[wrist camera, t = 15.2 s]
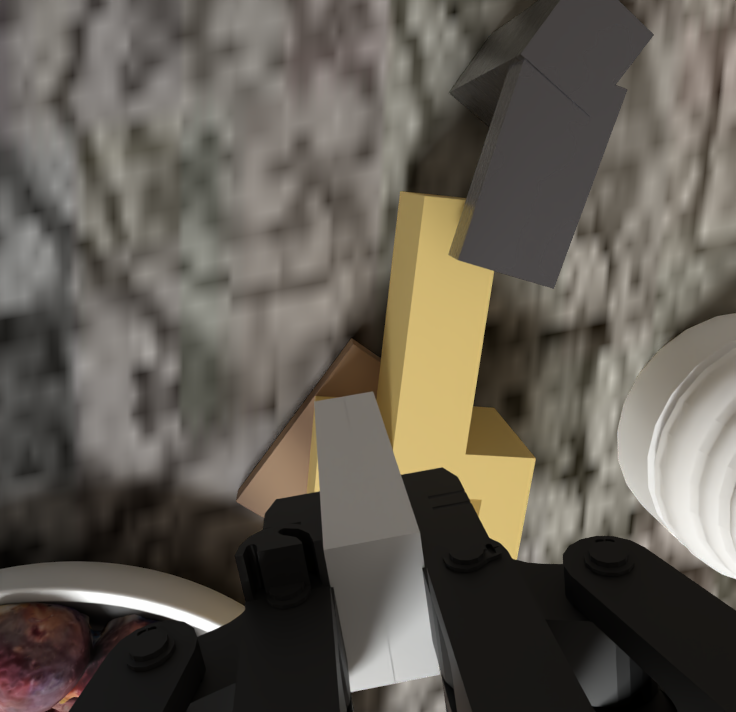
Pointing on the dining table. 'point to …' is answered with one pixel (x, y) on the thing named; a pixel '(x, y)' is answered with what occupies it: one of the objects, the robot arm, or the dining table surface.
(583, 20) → the keeper
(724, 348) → the honey pot
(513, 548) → the link
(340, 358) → the pintle stand
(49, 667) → the bowl
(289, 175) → the dining table surface
